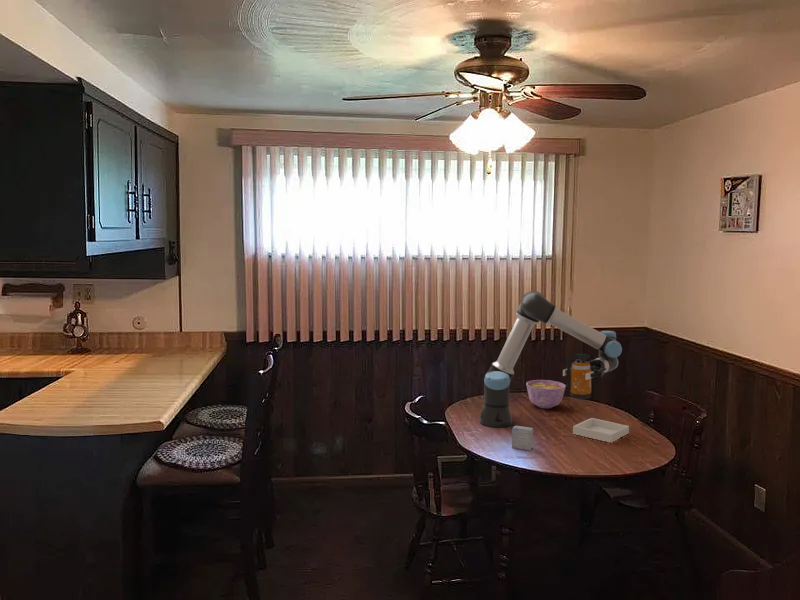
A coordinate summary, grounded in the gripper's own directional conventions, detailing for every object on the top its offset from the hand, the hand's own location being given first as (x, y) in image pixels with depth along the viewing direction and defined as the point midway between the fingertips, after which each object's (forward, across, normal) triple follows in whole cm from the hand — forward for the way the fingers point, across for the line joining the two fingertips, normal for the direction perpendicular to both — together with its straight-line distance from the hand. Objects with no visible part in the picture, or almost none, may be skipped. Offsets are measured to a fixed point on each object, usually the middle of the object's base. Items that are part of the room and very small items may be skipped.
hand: (574, 374), depth 292 cm
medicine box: (+30, +8, -28) cm, 42 cm away
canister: (-4, 0, -11) cm, 12 cm away
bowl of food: (-34, +34, -28) cm, 55 cm away
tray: (-10, -8, -28) cm, 31 cm away
